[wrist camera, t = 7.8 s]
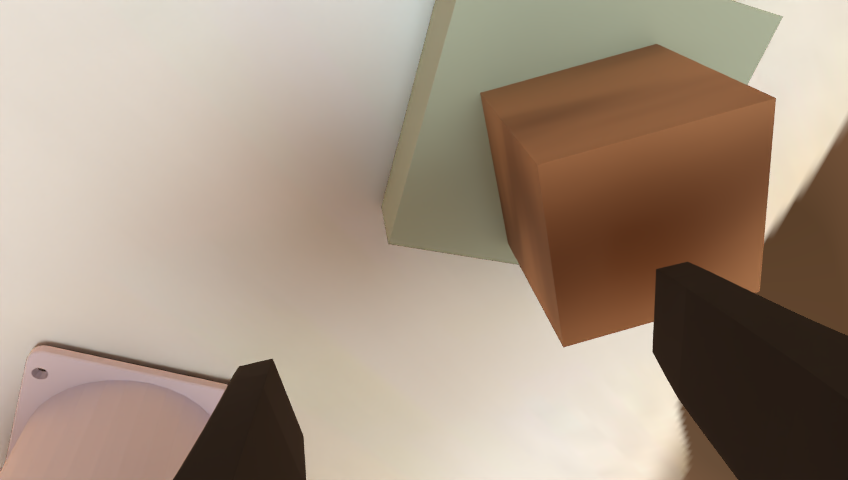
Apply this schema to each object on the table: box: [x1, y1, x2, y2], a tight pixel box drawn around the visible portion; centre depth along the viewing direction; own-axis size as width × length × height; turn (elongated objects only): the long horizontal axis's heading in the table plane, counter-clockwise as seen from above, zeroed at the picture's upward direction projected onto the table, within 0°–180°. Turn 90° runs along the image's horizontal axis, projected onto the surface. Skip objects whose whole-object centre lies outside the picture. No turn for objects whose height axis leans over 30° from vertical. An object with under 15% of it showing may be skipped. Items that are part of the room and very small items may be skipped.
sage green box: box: [381, 0, 783, 265], centre depth 19 cm, size 9×9×3 cm
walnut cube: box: [480, 44, 776, 347], centre depth 16 cm, size 5×5×5 cm
